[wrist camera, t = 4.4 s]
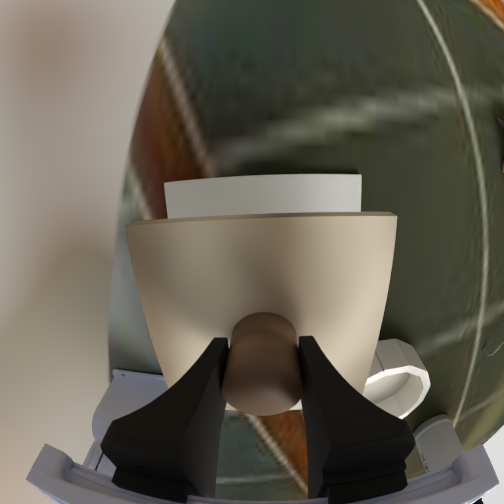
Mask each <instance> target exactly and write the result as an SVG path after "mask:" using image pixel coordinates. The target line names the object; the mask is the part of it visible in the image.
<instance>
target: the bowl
mask: <svg viewBox="0 0 504 504" xmlns="http://www.w3.org/2000/svg"><path fill="white" fill-rule="evenodd" d="M429 388H430V380H429V376H428V372H427V370H426V368H425V367H424V365H423V363H422V362H421V360H420V358H419V356H418V355H417V353H416V351H415V350H414V348H413V346H412V345H409V344H407V343H405V342H403V341H400V340H398V339H388V340H381V341H377V345H376V349H375V353H374V357H373V361H372V365H371V368H370V372H369V375H368V379H367V382H366V385H365V388H364V392H363V396H364V397H365V398H367V399H368V400H369V401H371V402H372V403H374V404H375V405H376V406H378V407H380V408H381V409H383V410H385V411H386V412H388V413H390V414H392V415H394V416H396V417H398V418H400V419H403V418H404V417H406V416H407V415H408V414H409V413H411V412H412V411H413V410H414V409H415V408H416V407H417V406H418V405H419V404H421V402H422V401H423V399H424V397H425V396H426V394H427V392H428V390H429Z"/></svg>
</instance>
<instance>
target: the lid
mask: <svg viewBox="0 0 504 504" xmlns="http://www.w3.org/2000/svg"><path fill="white" fill-rule="evenodd" d="M396 225H397V216H396V215H394V214H393V213H391V212H302V213H268V214H243V215H222V216H203V217H187V218H172V219H158V220H145V221H133V222H131V223H129V224H128V225H126V226H125V230H126V235H127V241H128V246H129V251H130V256H131V261H132V266H133V270H134V275H135V279H136V283H137V288H138V292H139V296H140V300H141V303H142V307H143V311H144V315H145V318H146V322H147V325H148V329H149V332H150V336H151V339H152V342H153V345H154V349H155V352H156V355H157V358H158V361H159V364H160V367H161V370H162V373H163V375H164V378H165V381H166V384H167V387H168V389H169V388H170V387H171V386H173V385H174V384H175V383H176V382H177V381H178V380H179V379H180V378H181V377H182V376H183V375H184V374H185V373H186V372H187V371H188V370H189V369H190V368H191V366H192V365H193V364H194V363H195V362H196V360H197V359H198V358H199V357H200V356H201V354H202V353H203V352H204V350H205V349H206V348H207V346H208V345H209V344H210V342H211V341H212V339H213V338H214V337H226V338H228V344H229V352H228V357H227V362H226V368H225V373H224V379H223V384H222V394H223V397H224V399H225V400H226V401H227V404H226V408H225V410H239V411H241V412H244V413H247V414H252V415H260V416H266V415H275V414H279V413H282V412H285V411H287V410H297V409H302V404H301V397H302V395H303V383H302V374H301V366H300V359H299V351H298V342H299V336H311V335H312V336H313V337H314V338H315V340H316V341H317V343H318V345H319V346H320V348H321V350H322V351H323V352H324V354H325V355H326V357H327V358H328V359H329V361H330V362H331V363H332V365H333V366H334V367H335V368H336V370H337V371H338V372H339V373H340V374H341V375H342V376H343V378H344V379H345V380H346V381H347V382H348V383H349V384H350V385H351V386H352V387H354V388H355V389H356V390H357V391H358V392H359V393H360V394H362V395H363V392H364V388H365V385H366V382H367V379H368V375H369V372H370V368H371V365H372V361H373V357H374V353H375V349H376V345H377V341H378V337H379V333H380V328H381V324H382V319H383V314H384V310H385V304H386V299H387V293H388V288H389V282H390V275H391V268H392V261H393V254H394V245H395V236H396Z"/></svg>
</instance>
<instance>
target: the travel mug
mask: <svg viewBox="0 0 504 504" xmlns="http://www.w3.org/2000/svg"><path fill="white" fill-rule="evenodd" d="M413 435H414V438H415V441H416V445H417V448H418V451H419V454H420V457H421V460H422V462H423V465H424V469H425V472H426V473H429V472H432V471H434V470H437V469H439V468H442V467H444V466H447V465H449V464H451V463H452V462H453V461H454V460H455V459H456V458H457V457H458V456H459V455H460V454H462V453H464V450H463V448H462V446H461V443H460V441H459V439H458V437H457V434H456V432H455V430H454V428H453V426H452V424H451V423H450V420H449V418H448V416H447V415H445V414H440V415H436V416H434V417H432V418H430V419H428V420H426V421H425V422H423V423H422V424H421V425H420V426H419V427H418V428H417V429H416V430H415V431H414V434H413ZM473 504H483V502H482V498H480V499H478V500H477V501H475V502H474V503H473Z"/></svg>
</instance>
